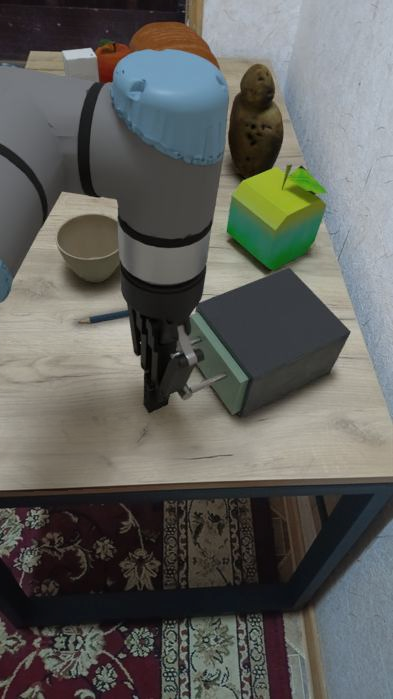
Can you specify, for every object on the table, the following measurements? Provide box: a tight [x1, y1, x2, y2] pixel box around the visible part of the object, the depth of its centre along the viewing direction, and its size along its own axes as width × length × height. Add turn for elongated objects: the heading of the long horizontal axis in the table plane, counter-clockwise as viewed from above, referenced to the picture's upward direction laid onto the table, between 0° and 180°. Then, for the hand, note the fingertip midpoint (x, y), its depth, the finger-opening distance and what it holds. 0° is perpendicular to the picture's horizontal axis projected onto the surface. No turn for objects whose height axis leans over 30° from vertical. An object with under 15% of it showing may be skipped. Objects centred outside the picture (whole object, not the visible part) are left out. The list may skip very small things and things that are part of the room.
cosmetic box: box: [61, 47, 99, 82], centre depth 99 cm, size 6×4×12 cm
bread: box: [128, 21, 221, 71], centre depth 97 cm, size 18×21×17 cm
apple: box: [225, 164, 329, 271], centre depth 76 cm, size 11×10×15 cm
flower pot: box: [54, 212, 120, 283], centre depth 73 cm, size 10×10×7 cm
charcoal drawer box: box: [194, 267, 352, 419], centre depth 64 cm, size 15×13×9 cm
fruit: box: [94, 38, 131, 83], centre depth 108 cm, size 10×10×10 cm
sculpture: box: [227, 63, 285, 179], centre depth 86 cm, size 13×8×20 cm, turn 11°
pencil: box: [78, 309, 129, 324], centre depth 71 cm, size 1×1×15 cm
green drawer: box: [176, 312, 249, 415], centre depth 62 cm, size 20×11×7 cm, turn 121°
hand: (155, 404), depth 60 cm, fingers closed
